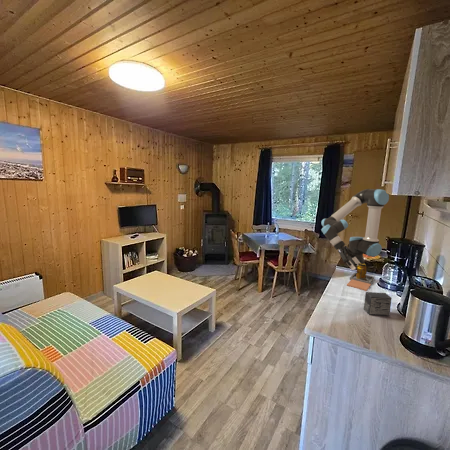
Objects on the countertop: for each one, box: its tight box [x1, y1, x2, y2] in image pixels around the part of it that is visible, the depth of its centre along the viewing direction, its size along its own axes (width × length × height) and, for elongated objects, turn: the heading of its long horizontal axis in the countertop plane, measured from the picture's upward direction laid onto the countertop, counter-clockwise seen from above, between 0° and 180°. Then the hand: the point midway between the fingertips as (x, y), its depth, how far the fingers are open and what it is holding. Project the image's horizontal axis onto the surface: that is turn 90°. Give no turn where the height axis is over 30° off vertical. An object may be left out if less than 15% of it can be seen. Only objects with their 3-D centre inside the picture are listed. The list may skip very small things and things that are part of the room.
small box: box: [363, 291, 393, 317], centre depth 127 cm, size 11×6×10 cm, turn 84°
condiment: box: [355, 262, 370, 281], centre depth 171 cm, size 7×8×12 cm
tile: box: [346, 279, 372, 292], centre depth 162 cm, size 12×12×1 cm
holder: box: [349, 272, 375, 285], centre depth 172 cm, size 13×13×2 cm
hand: (356, 267), depth 172 cm, fingers open, 13 cm apart
